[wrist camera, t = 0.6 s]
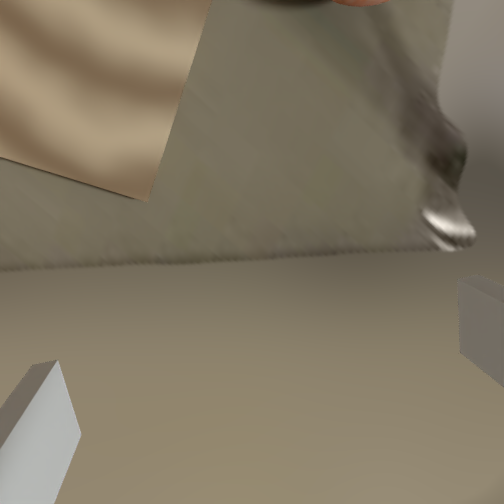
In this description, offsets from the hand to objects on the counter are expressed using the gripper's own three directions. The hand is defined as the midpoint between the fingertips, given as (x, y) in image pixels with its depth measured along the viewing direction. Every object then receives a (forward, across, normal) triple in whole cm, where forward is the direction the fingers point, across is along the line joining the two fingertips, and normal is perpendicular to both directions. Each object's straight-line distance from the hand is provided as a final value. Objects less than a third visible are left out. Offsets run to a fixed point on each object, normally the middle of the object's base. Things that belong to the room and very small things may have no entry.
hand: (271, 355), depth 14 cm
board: (+22, -8, +15) cm, 28 cm away
